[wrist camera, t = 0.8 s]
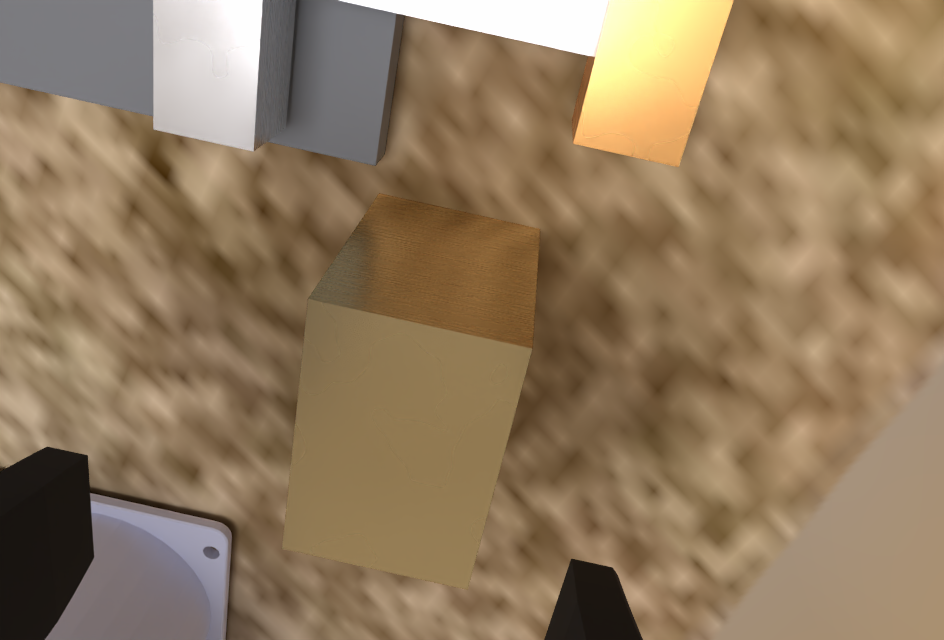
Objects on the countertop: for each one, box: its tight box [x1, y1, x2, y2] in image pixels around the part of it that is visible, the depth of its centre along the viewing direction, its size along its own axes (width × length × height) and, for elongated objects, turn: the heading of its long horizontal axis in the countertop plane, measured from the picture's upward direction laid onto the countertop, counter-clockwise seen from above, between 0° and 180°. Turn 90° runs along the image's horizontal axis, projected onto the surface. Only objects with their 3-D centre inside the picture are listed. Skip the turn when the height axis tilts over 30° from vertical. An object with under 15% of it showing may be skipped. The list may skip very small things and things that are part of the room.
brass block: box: [282, 193, 540, 590], centre depth 17 cm, size 6×4×6 cm, turn 169°
